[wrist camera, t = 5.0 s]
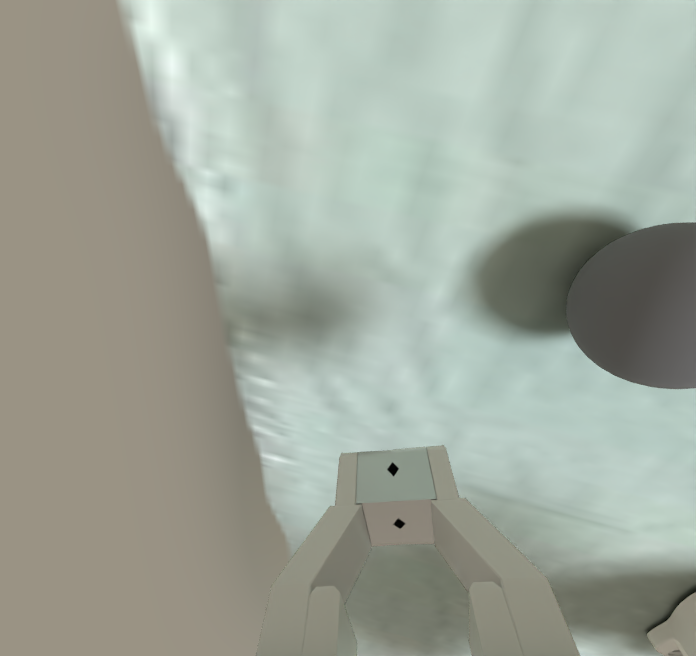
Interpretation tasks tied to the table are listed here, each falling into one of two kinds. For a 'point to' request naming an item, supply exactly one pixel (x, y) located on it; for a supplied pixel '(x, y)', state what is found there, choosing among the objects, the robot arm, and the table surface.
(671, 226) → the dark grey ball
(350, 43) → the table surface
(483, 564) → the robot arm
